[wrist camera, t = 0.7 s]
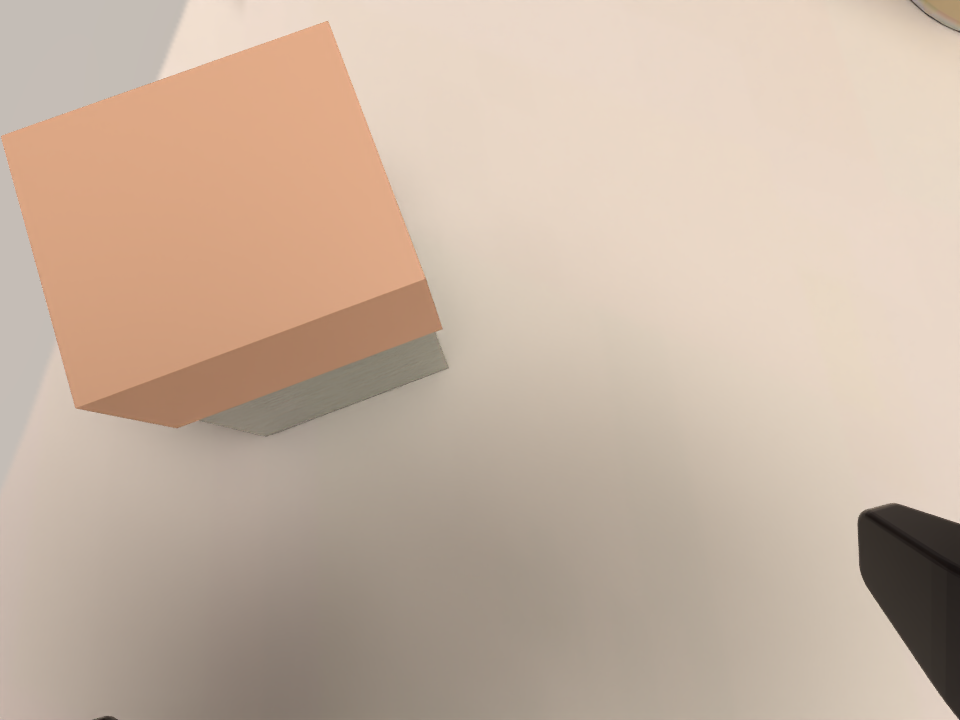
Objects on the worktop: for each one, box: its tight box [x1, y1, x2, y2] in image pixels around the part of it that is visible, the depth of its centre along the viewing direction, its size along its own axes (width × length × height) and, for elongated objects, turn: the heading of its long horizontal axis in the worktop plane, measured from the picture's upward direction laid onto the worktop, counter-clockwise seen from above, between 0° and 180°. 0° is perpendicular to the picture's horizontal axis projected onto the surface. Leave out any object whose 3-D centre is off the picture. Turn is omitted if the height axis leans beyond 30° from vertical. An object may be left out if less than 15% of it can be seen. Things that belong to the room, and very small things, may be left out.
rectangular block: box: [1, 21, 442, 428], centre depth 15 cm, size 5×6×4 cm
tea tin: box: [199, 332, 449, 436], centre depth 19 cm, size 5×6×7 cm
